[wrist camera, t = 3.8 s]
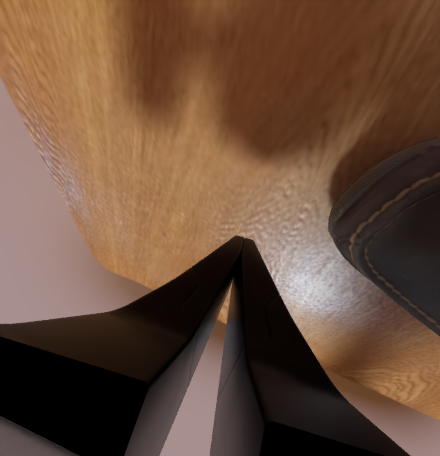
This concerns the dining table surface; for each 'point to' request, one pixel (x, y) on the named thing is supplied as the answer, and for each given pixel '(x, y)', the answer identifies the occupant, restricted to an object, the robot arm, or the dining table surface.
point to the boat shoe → (396, 228)
